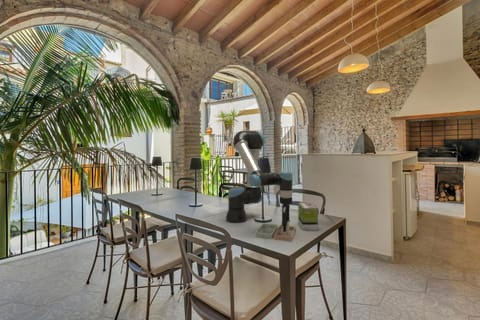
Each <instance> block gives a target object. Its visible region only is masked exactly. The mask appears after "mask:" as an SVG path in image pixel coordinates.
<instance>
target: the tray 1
mask: <svg viewBox="0 0 480 320" xmlns="http://www.w3.org/2000/svg"><path fill="white" fill-rule="evenodd" d="M263 228H264V229H265V228H268V229H273V230H272V232H271V233H265V232H261V231H262V230H263ZM278 228H279V226H278V224H271V223H264V222H263V223H262V224H260V226H259V227H258V229H257V230H256V231H255V232H254V233H255V235H254V236H255V238H256V237H257V238H262V237H263V238H264V239H271V240H272V239H273V237H274V235H275V233H276V231H277V229H278Z"/></svg>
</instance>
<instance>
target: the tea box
mask: <svg viewBox="0 0 480 320" xmlns="http://www.w3.org/2000/svg"><path fill="white" fill-rule="evenodd" d="M297 210H298V211H297V212H298V213H297V215H298V216H297V217H298V218H297V222H298V224H299V226H300V227H301V229H302V231H318V230H319V207H318V206H316V205H315V204H314V202H311V201H310V202H309V201H308V202H298V203H297Z"/></svg>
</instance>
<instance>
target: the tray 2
mask: <svg viewBox="0 0 480 320" xmlns="http://www.w3.org/2000/svg"><path fill="white" fill-rule="evenodd" d="M281 225H282V224H281ZM281 225H279V226H278V229H277V231H276V232H275V234H274V236H273V237H274V240H279V241H286V242H287V241H288V242H292V241H293V239H294V236H295V234H296V228H297V227H296V226H291V225H289V231H291V232H292V234H291V236H290V235H289V236H282V234H281V235H280V234H279V233H280V231H281V230H282V226H281Z"/></svg>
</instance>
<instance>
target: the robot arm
mask: <svg viewBox="0 0 480 320" xmlns="http://www.w3.org/2000/svg"><path fill="white" fill-rule="evenodd" d="M265 140H266V139H265V135H264V133H262V132H261V131H260V130H240V131H238V132H236V134H235V135H234V137H233V139H232V144H233V147H234V150H235V151H237V152H238V154H239V156H240V159H241V160H242V162H243V164H244V166H245V168H246V171H247V176H246V177H247V178H246V180H247V181H246V184H245V185H244V186H234V187H231V188H229V190H228V193H227V194H228V198H227V199H228V201H227V202H228V203H227V204H228V210H227V213H226V216H225V221H226V222H229V223H232V224H233V223H234V224H240V223H243V222H246V221H247V219H248V217H247V213H246V211H245V206H246V205H252V204H253V205H254V204H258V203H261V202H262V201H263V200H262V195H261V188H262V187H267V186H269V187H270V186H279V204H281V205H282V206H281V226H282V229H281V235H282V236H287V221H289V223H290V222H291V220H290V208H291V207H290V205H291V204H293V194H294V191H293V172H292V171H290V170H281V171H279V172H269V173H263V172H262V170H261V168H260V165H259V166H258V160H259V161H260V152H261V150H262V147H264V145H265V143H266V141H265ZM257 159H258V160H257ZM255 160H256V161H255Z"/></svg>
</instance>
